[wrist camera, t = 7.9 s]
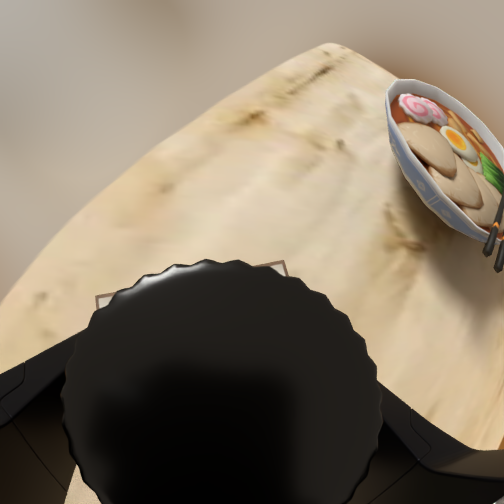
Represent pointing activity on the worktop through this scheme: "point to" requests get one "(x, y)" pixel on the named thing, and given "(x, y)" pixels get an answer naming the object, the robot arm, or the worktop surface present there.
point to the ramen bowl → (449, 160)
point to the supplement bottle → (221, 392)
